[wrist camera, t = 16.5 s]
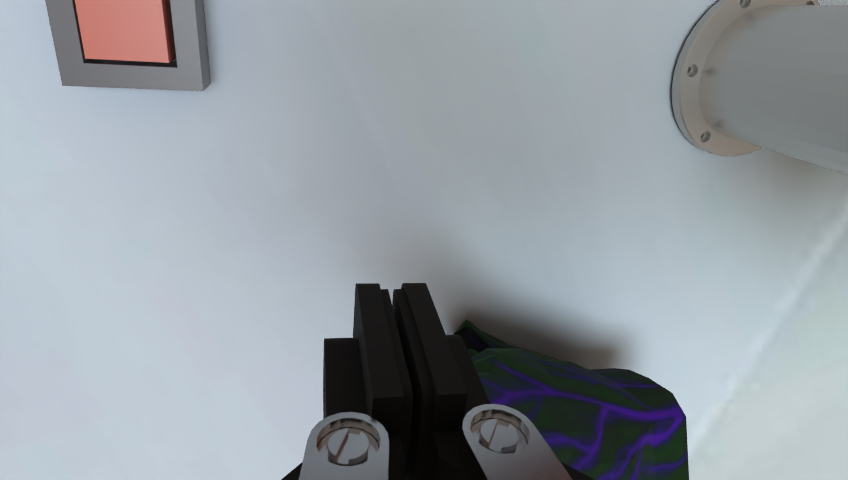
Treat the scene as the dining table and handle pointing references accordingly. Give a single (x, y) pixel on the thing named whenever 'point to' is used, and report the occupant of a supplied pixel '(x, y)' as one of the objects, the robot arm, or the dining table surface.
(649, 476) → the decorative plant
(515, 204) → the dining table surface
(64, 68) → the button housing
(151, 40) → the button
